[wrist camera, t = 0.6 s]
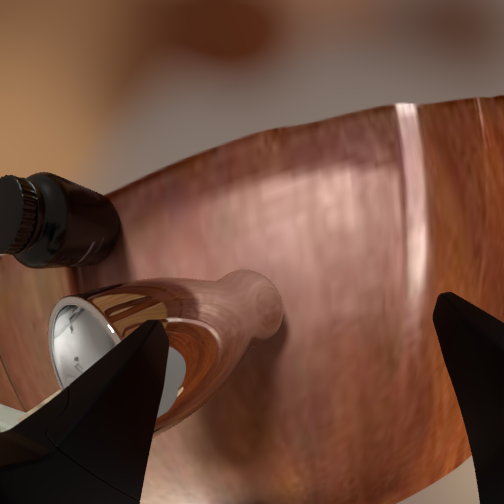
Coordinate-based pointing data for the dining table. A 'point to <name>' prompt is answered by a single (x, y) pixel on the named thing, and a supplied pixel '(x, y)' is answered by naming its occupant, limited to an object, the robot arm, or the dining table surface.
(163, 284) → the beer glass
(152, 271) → the dining table surface
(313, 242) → the dining table surface
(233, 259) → the dining table surface
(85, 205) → the supplement bottle
